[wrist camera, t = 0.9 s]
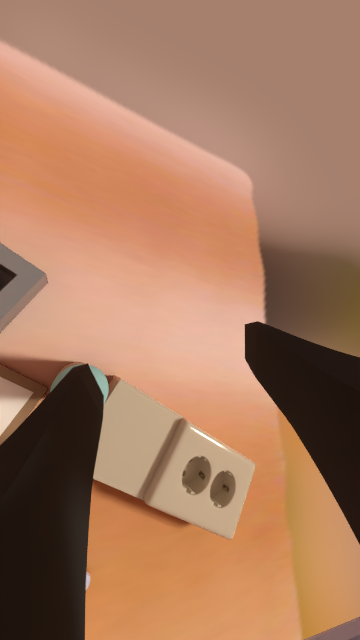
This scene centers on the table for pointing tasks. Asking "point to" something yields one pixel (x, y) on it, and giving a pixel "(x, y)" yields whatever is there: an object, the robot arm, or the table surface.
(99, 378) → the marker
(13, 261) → the grey egg holder
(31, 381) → the clipboard
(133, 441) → the electrical outlet
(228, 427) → the table surface
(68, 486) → the robot arm
